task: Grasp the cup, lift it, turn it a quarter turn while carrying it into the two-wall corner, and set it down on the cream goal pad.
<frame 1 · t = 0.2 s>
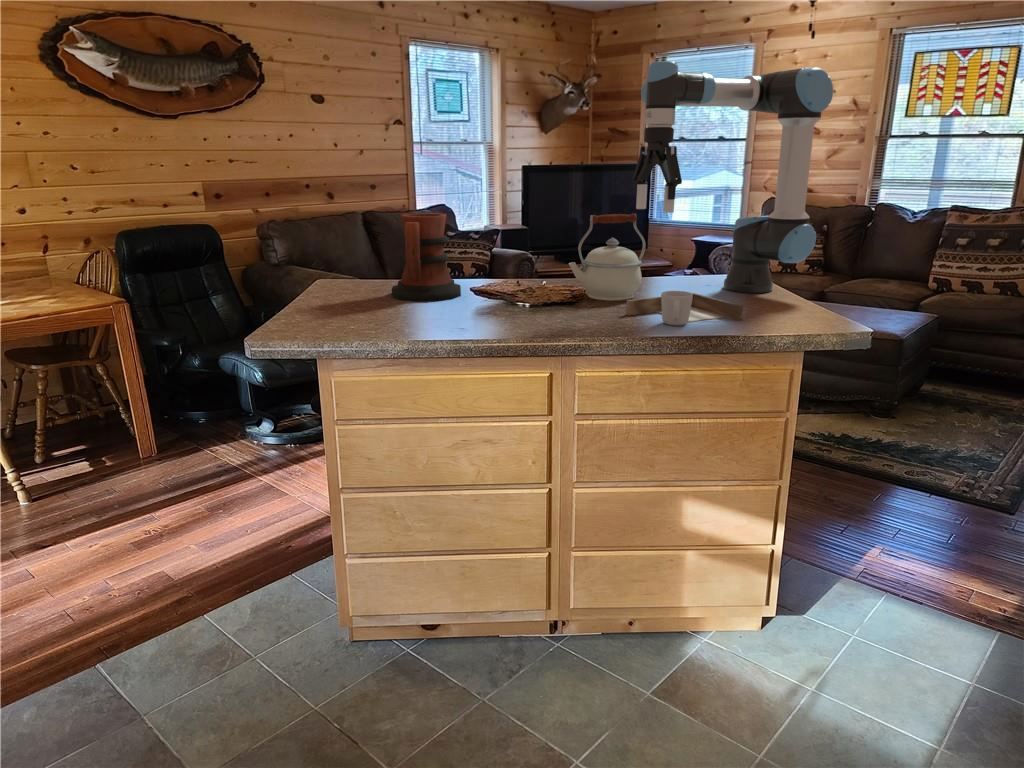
hand: (654, 210, 196), 28 cm above the table, fingers open, 13 cm apart
tankard: (425, 296, 228), on the table
kettle: (605, 297, 226), on the table
cup: (675, 325, 189), on the table
wooden corner frame: (681, 317, 197), on the table
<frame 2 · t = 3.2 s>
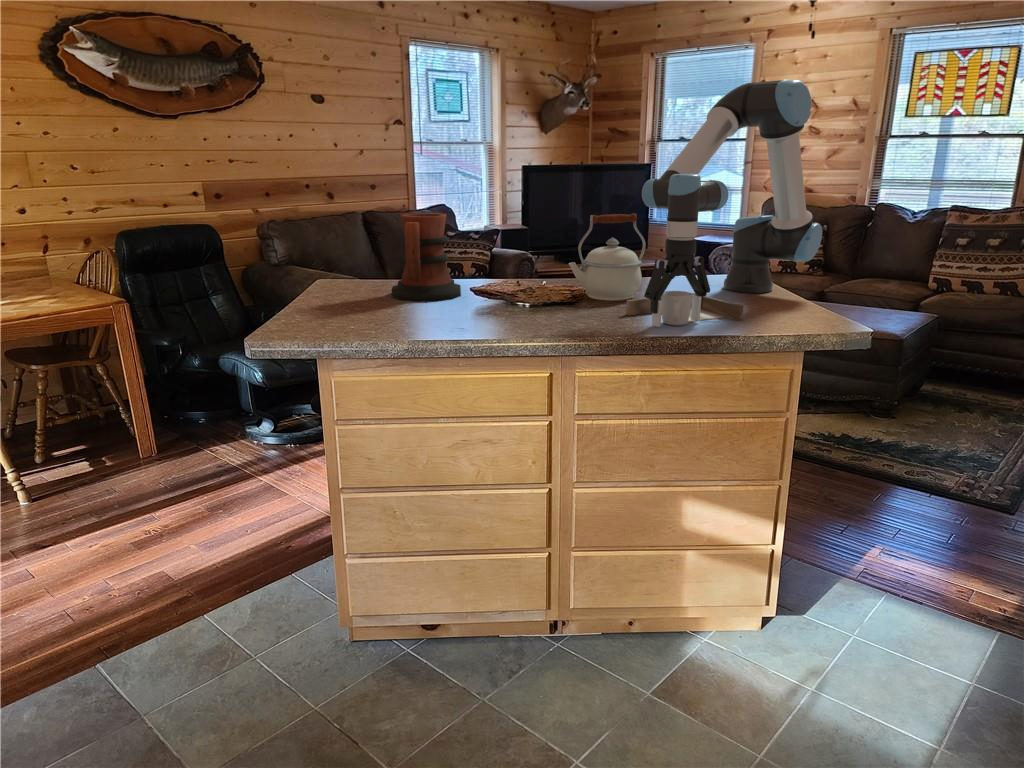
hand: (675, 323, 189), 0 cm above the table, fingers open, 12 cm apart
nothing on the table moved.
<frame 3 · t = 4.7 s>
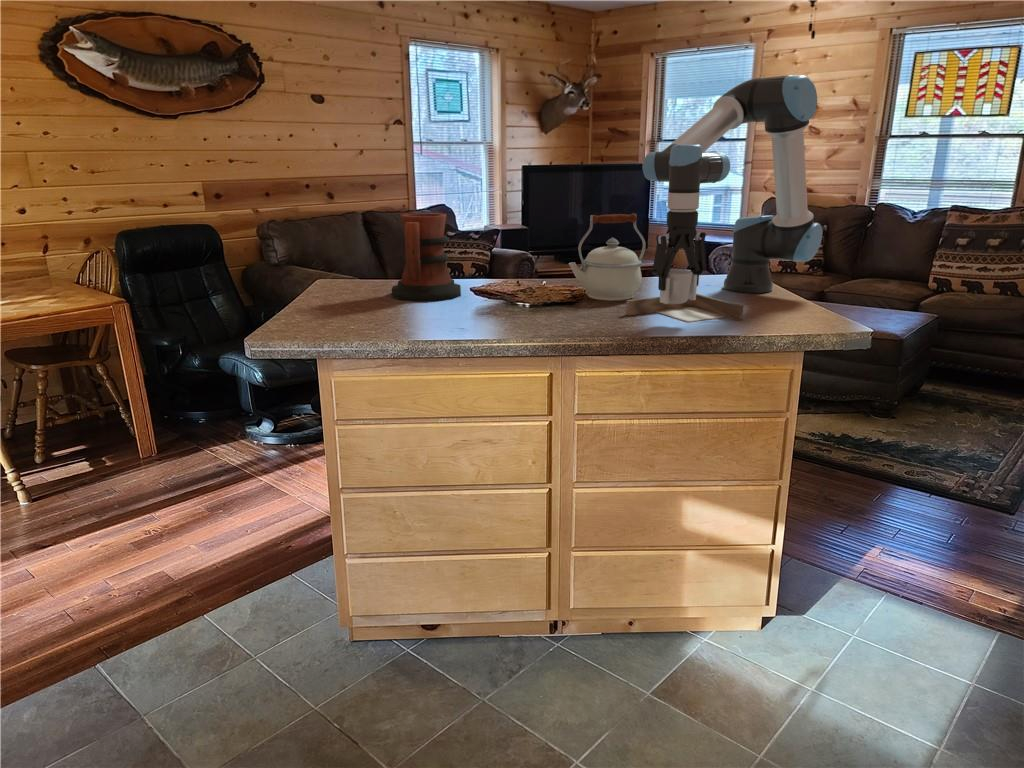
hand: (677, 300, 188), 6 cm above the table, fingers closed on cup, 8 cm apart
cup: (674, 304, 188), point 5 cm above the table, touching gripper
everything else where it was.
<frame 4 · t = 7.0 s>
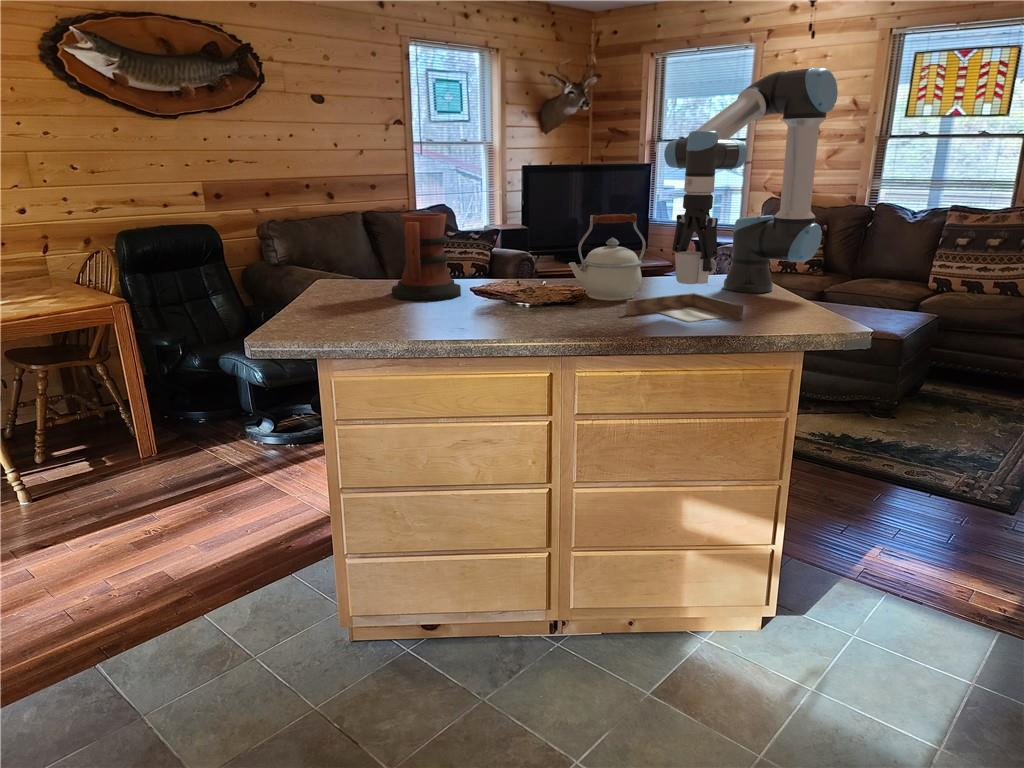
hand: (691, 280, 197), 10 cm above the table, fingers closed on cup, 8 cm apart
cup: (694, 284, 196), point 9 cm above the table, touching gripper
everything else where it was.
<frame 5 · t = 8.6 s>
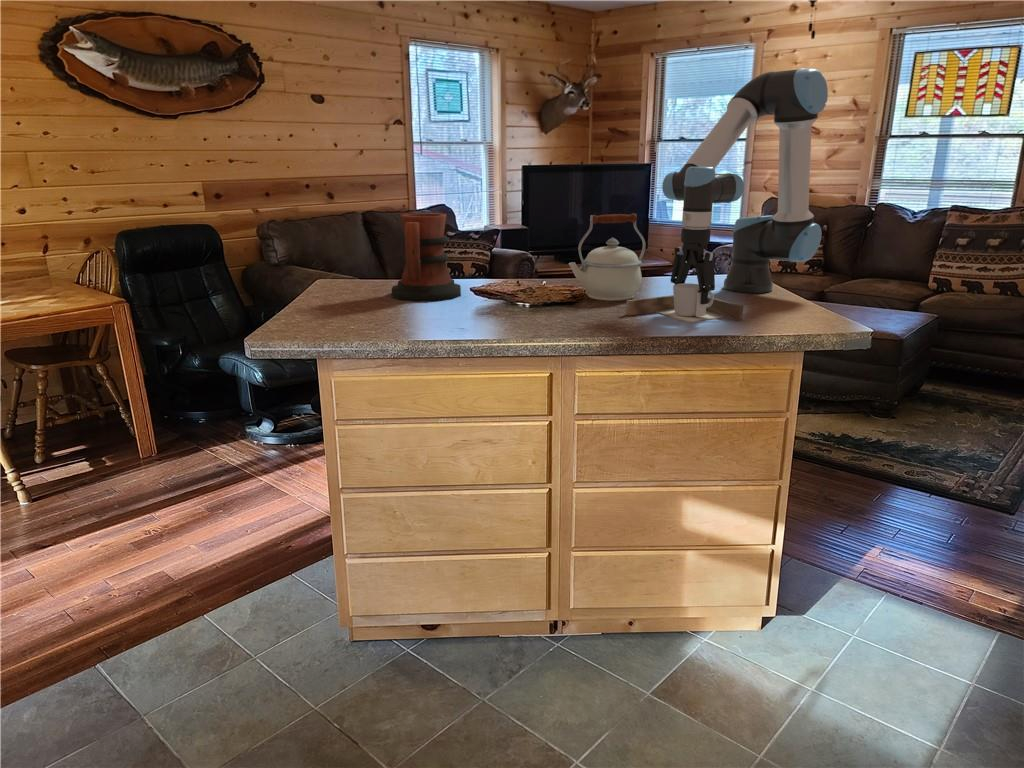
hand: (689, 312, 200), 1 cm above the table, fingers closed on cup, 8 cm apart
cup: (692, 315, 199), resting on wooden corner frame, touching gripper
everything else where it was.
when the fingers open (1 cm above the table, at t = 9.3 s): cup stays where it is, resting on wooden corner frame.
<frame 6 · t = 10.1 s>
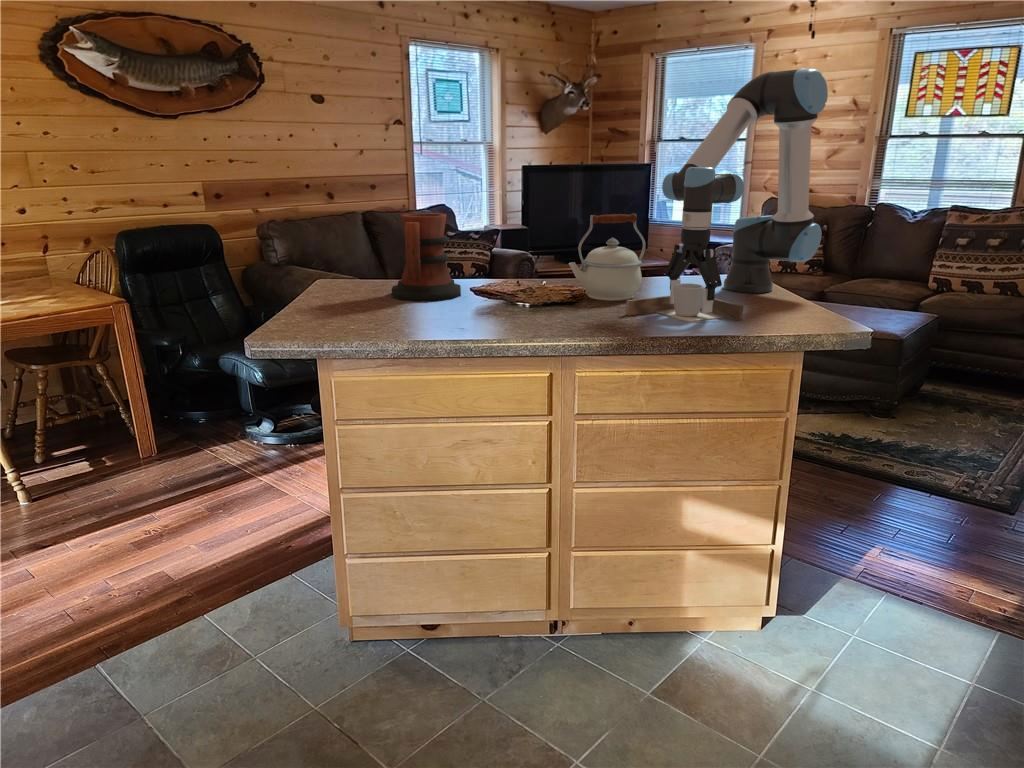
hand: (690, 307, 199), 2 cm above the table, fingers open, 13 cm apart
cup: (692, 316, 199), resting on wooden corner frame
everything else where it was.
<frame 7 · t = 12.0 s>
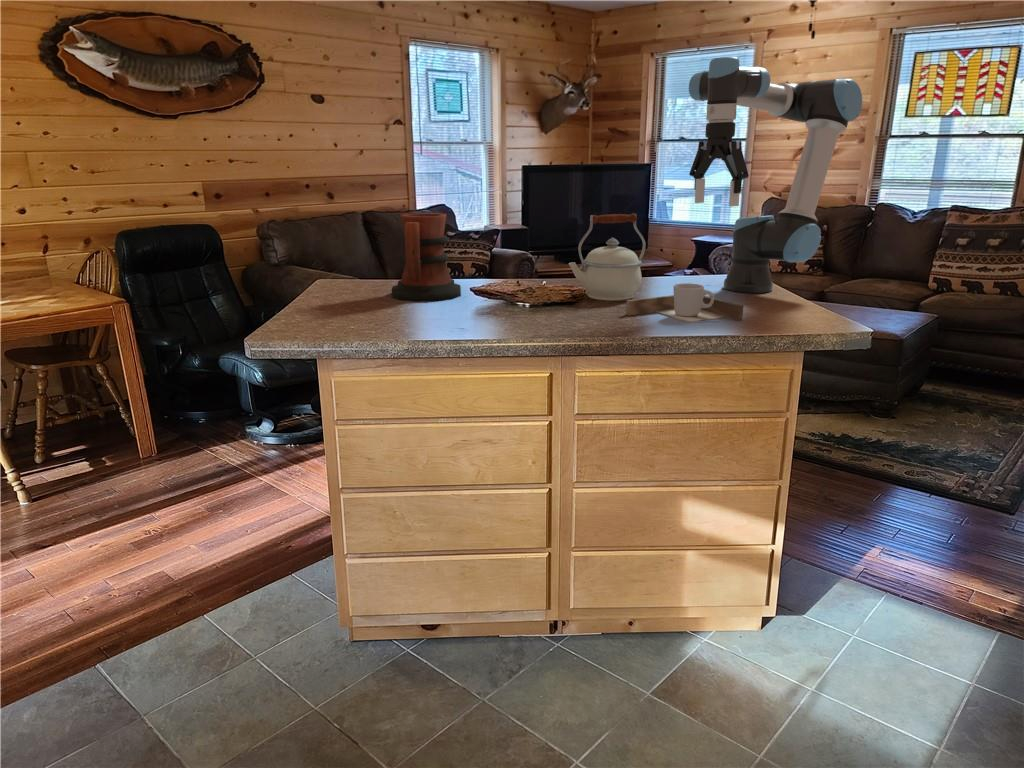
hand: (716, 204, 199), 29 cm above the table, fingers open, 13 cm apart
nothing on the table moved.
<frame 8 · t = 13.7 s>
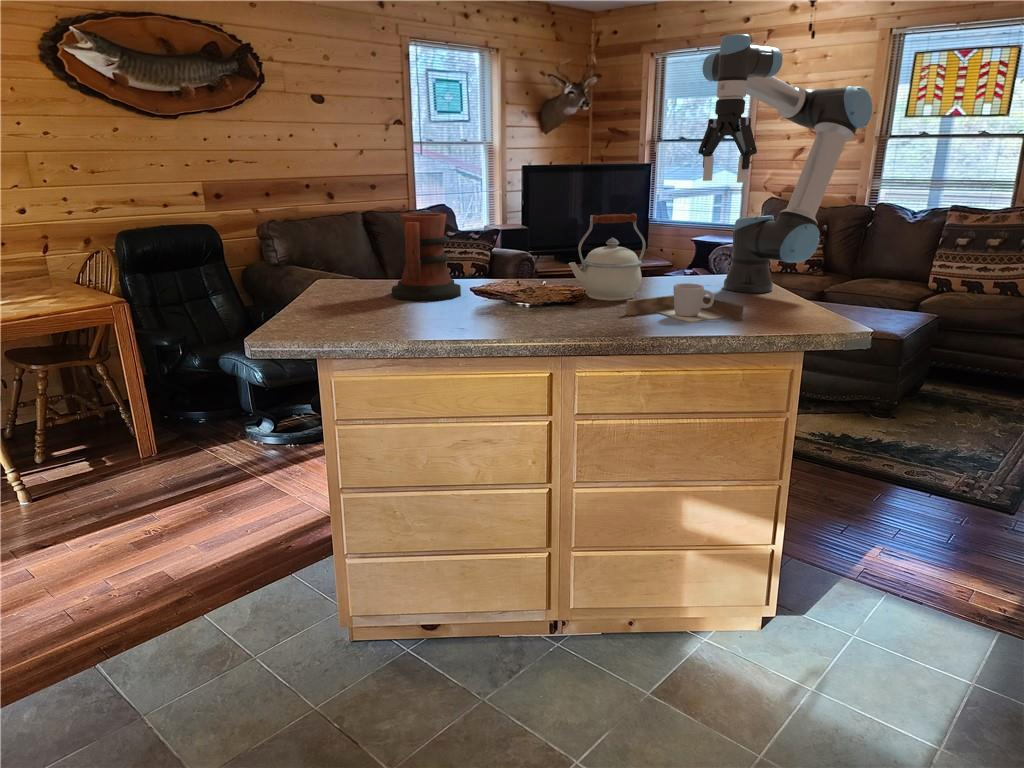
hand: (723, 181, 201), 35 cm above the table, fingers open, 13 cm apart
nothing on the table moved.
at the end: cup inside the target area (1.0 cm from its centre), resting on wooden corner frame; cup tilted 0°; the gripper is holding nothing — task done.
